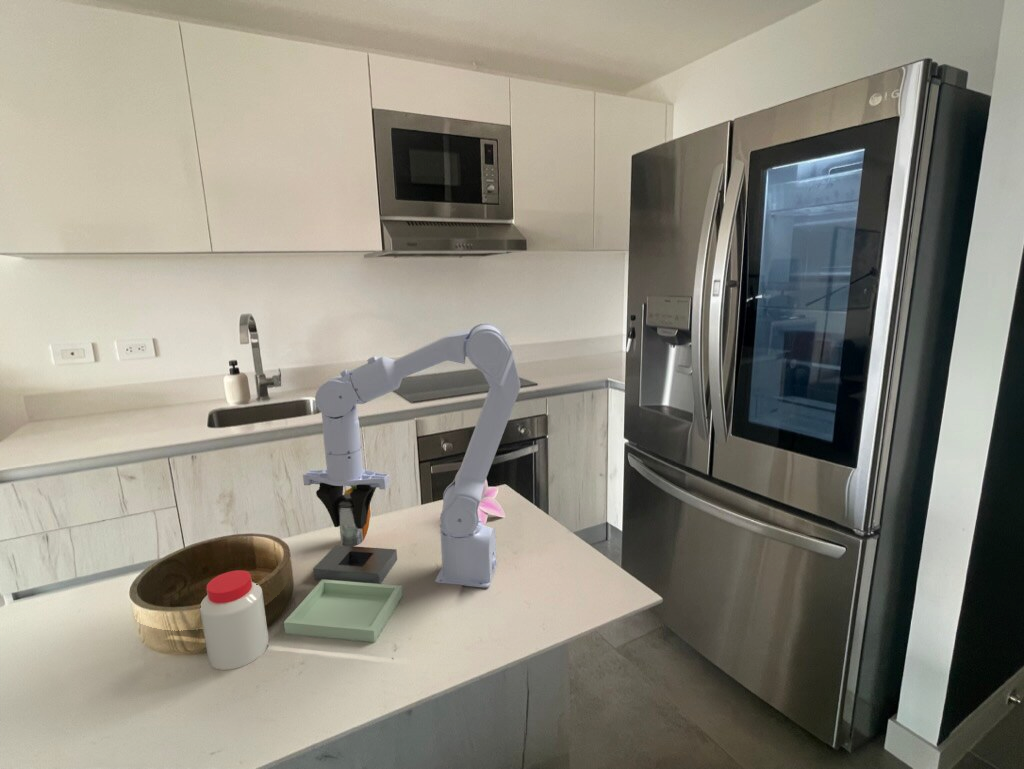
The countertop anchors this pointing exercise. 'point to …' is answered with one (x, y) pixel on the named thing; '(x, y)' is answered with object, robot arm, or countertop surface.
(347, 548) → the hitch block
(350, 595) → the tray
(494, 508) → the lily
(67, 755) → the countertop surface
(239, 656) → the pill bottle
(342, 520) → the pin
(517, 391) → the robot arm
